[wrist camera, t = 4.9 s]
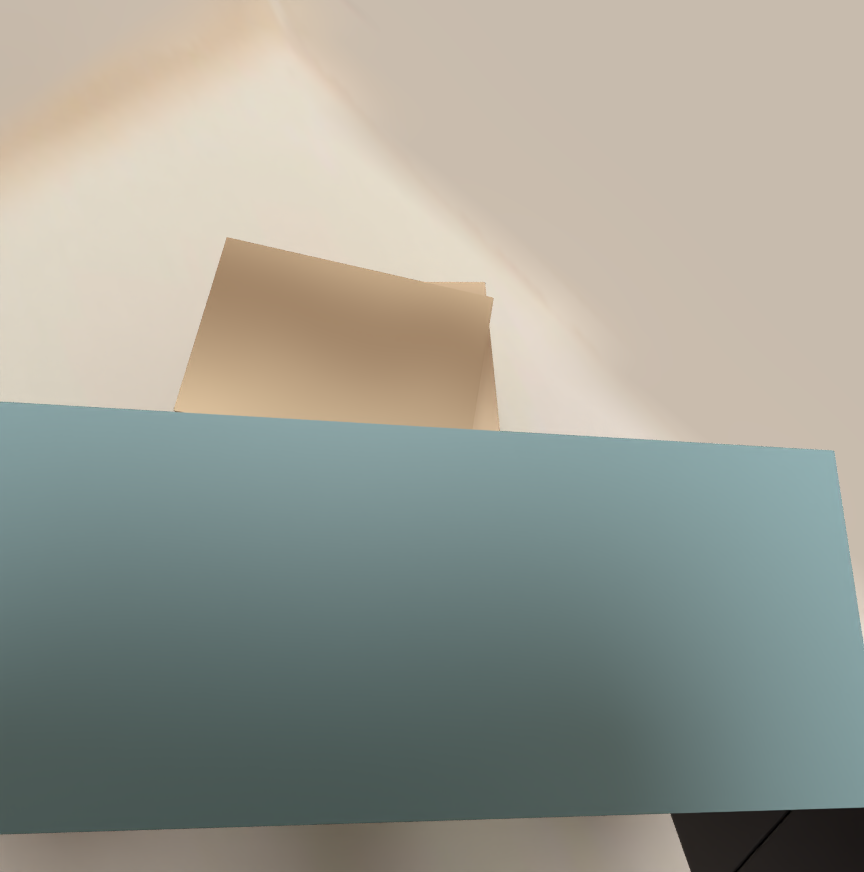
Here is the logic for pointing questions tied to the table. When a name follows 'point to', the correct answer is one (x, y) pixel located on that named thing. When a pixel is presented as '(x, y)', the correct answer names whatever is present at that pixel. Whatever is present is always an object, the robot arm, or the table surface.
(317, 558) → the teal rectangular block
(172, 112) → the table surface
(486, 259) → the table surface
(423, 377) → the offcut stack
